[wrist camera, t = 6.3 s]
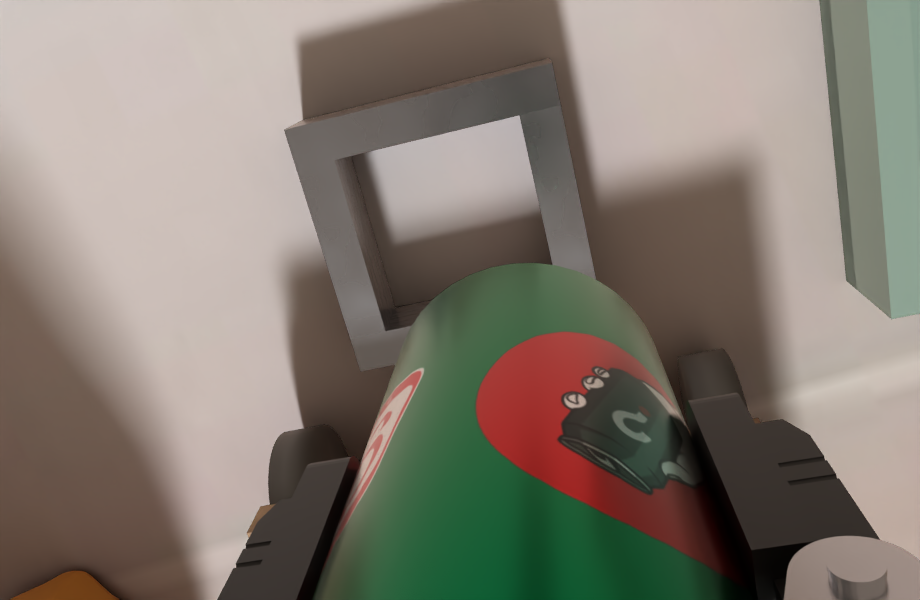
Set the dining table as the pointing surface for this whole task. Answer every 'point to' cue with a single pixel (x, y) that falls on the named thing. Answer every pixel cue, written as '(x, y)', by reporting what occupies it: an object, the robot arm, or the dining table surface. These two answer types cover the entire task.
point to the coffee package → (68, 589)
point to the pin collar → (408, 119)
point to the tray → (877, 144)
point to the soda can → (530, 458)
